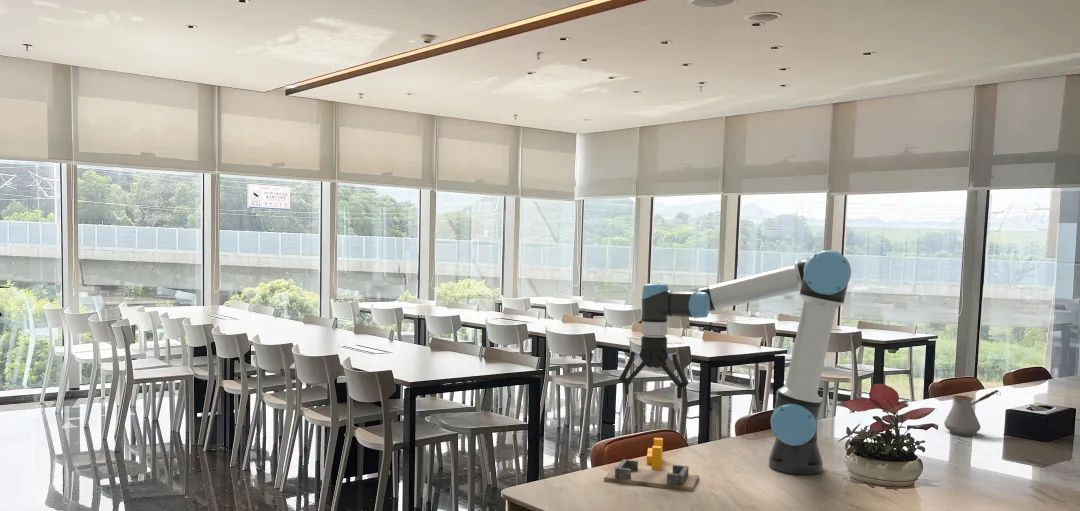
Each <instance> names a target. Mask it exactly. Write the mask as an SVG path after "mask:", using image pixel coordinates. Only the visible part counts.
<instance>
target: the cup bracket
mask: <svg viewBox="0 0 1080 511" xmlns="http://www.w3.org/2000/svg"><path fill="white" fill-rule="evenodd" d="M699 479H700V475H698V474H689V466H688V465H682V464H680V465H679V464H673V465H672V471H663V470H654V469H645V468H639V460H635V459H634V460H633V459H625V458H624V459H622V460H621V461H620V462H619V463H618V464H617V465H614V466H613V467H612V468H611V469H610V470H609V471H608V472H607V474H606V475H605V476H603V481H604V482H610V483H611V482H612V483H620V484H627V485H637V486H645V487H653V488H654V487H655V488H661V489H670V490H677V491H686V492H693V491H694V490H695V488H696V485H697V484H698V482H699Z"/></svg>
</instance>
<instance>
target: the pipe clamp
mask: <svg viewBox="0 0 1080 511" xmlns="http://www.w3.org/2000/svg"><path fill="white" fill-rule="evenodd" d="M663 447H664V438H663V437H654V438H653V445H652V447H647V454H646V465H651V470H655V471H662V464H663V457H664V456H663V451H664V449H663Z"/></svg>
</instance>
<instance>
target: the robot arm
mask: <svg viewBox="0 0 1080 511" xmlns="http://www.w3.org/2000/svg"><path fill="white" fill-rule="evenodd" d="M851 269H852V268H851V264H850V262H849V261H848V259H847V258H846V257H845V256H844V254H842V253H841V252H839V251H836V250H833V249H821V250H819V251H816V252H814V253H813V254H811V255H810V256H809V257H807V258H803V259H801V260H797V261H796V260H795V262H794V263H793V265H789V266H786V267H781V268H777V269H774V270H769V271H765V272H761V273H757V274H753V275H748V276H744V277H740V278H737V279H733V280H728V281H725V282H718V283H716V284H711V285H709V286H704V287H699V288H693V289H691V290H687V291H686V290H685V291H684V290H681V291H680V290H670V289H669V286H668V284H666V283H645V284H644V285H643V286H642V294H641V296H642V297H641V334H642V336H641V341H640V342H641V343H640V344H641V347H640V349H641V350H640V352H639V351H636V350H632V351H630V355H629V359H628V361H627V363H626V365H625V366H624V369H623V371H622V373H621V375H620V376H619V379H618V380H619V382H621V383H624V384H625V385H624V388H625V389H624V391H625V392H624V393H625V395H628V398H627V399H628V400H627V401H628V405H627V406H628V407H633V406H634V383H632V381H633V380H634V379H635V378H636V377H637V376H638V374H639V373H641V371H642V370H643V369H644V368H645V367H647V368H654V369H655V368H656V369H659V368H662V370H663V371H664V372H665V374H667V376H668V377H669V378H670V380H672V382H673V383H674V385H675V387H674V390H673V391H674V392H673V393H674V394H673V395H674V397H673V398H674V399H673V400H674V402H673V404H674V406H673V410H674V411H678V409H679V399H681V398H683V387H687V386H688V385H689V384H690V383H689V380H688V377H687V376H686V373H685V371H684V369H683V367H682V365H681V363H680V360H679V355H678V352H674V353H669V352H668V338H667V335H668V317H678V318H681V317H682V318H694V319H700V318H703V319H704V318H708V316H709V314H710V312H713V311H715V310H721V309H725V308H729V307H734V306H738V305H742V304H747V303H752V302H756V301H760V300H766V299H768V298H772V297H773V298H774V297H777V296H782V295H786V294H790V293H791V294H792V293H795V292H799V296H800V298H802V301H803V302H802V303H803V304H802V308H801V313H800V318H799V323H798V326H797V331H796V335H795V341H794V344H793V349H792V354H791V358H790V361H789V362H790V363H789V367H788V372H787V376H786V381H785V384H784V385H783V386H782V387H780V388H778V389H777V390H776V396H775V403H774V409H773V413H772V414H771V416H770V427H771V431H772V432H773V435H774V436H775V440H774V443H773V446H772V449H771V450H770V454H769V457H768V466H769V467H770V468H771V469H773V470H774V471H778V472H782V473H786V474H792V475H793V474H794V475H809V476H810V475H816V474H821V473H823V470H824V462H823V459H822V455H821V451H820V449H819V445H818V422H819V421H818V419H819V415H820V414H819V413H820V408H821V405H822V398H821V397H820V396H819V394H818V391H819V387H820V383H821V378H822V374H823V373H822V372H823V368H824V365H825V361H826V356H827V352H828V349H829V348H828V347H829V342H830V338H831V334H832V330H833V324H834V320H835V315H836V311H837V308H839V307H840V306H842V305H844V303H845V298H846V294H847V289H848V285H849V282H850V279H851V275H852V270H851ZM639 357H640V360H641V361H642V362H641V363H640V364H639V365H638V366H637V367H636V369H634V371H633V372H632V373H631V374H630V375H629V376H628V374H629V372H630V370H631V368H632V366H633V365H634V362H635V360H636V359H638V358H639ZM668 359H670V361H671V362H672V363H673V365H674V367H675V370H676V371H677V374H678V376H679V378H680V379H679V378H678V376H677V375H676V374H675V372H674V371H673V370H672V368H670V366H669V364H668V363H667V362H666V361H667V360H668ZM627 376H628V377H627Z"/></svg>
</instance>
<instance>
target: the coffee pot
mask: <svg viewBox="0 0 1080 511" xmlns="http://www.w3.org/2000/svg"><path fill="white" fill-rule="evenodd" d="M998 393H999V394H998ZM995 394H996V395H997V396H1001V395H1002V393H1001V392H1000V391H999V390H998V389H996V390H994V391H991V392H989V393H986V394H985V395H984V396H981V397H980V398H978V399H977V400H975V401H973V400H974V397H973V396H972V397H971V396H966V395H953V396H952V398H953V400H954V403H953V405H952V407H951V409H950V411H949V412H948V414H947V416H946V419H945V420H944V422H943V423H944V424H943V425H944V426H945V428H946V429H947V430H948V431H949V433H951V434H955V435H959V436H974V435H975V434H977V433H978V432H979V431H980V430H981V425H980V421H979V419H978V417H977V415H976V413H975V411H974V408H973V406H974V405H977V404H978V403H980V402H982V401H984V400H986V399H989V398H991V396H995Z"/></svg>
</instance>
